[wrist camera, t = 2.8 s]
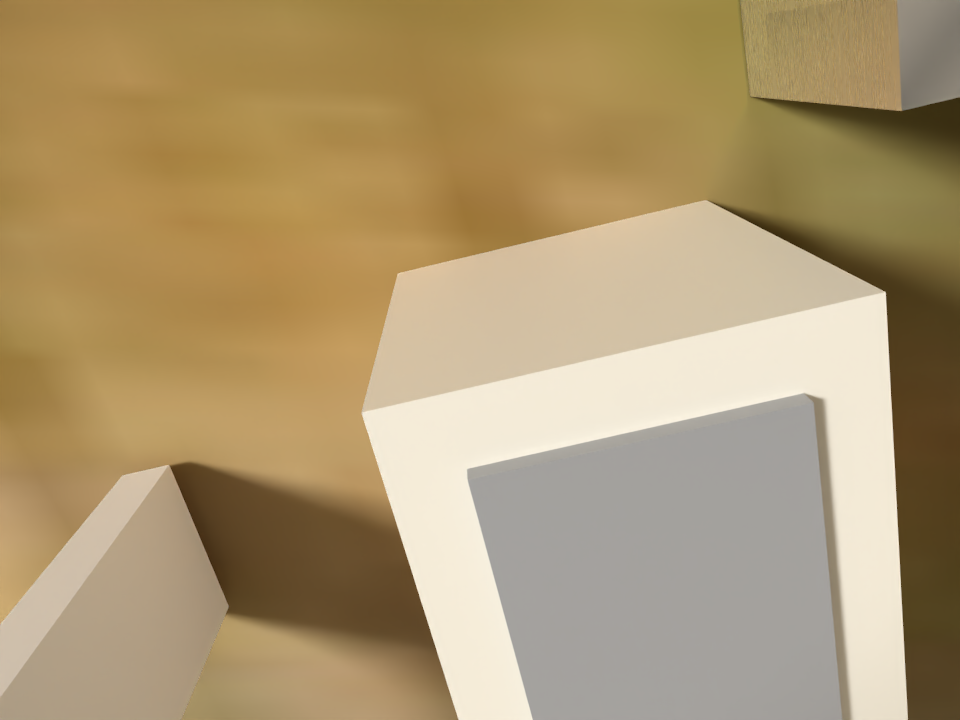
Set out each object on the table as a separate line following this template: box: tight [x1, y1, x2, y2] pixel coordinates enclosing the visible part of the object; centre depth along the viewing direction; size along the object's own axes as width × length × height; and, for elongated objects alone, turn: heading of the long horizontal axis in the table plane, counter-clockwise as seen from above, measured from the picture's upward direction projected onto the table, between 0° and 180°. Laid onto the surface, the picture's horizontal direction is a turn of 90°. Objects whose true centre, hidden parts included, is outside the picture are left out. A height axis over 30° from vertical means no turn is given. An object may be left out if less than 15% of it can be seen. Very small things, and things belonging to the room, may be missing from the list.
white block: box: [362, 200, 908, 720], centre depth 10 cm, size 6×4×5 cm
